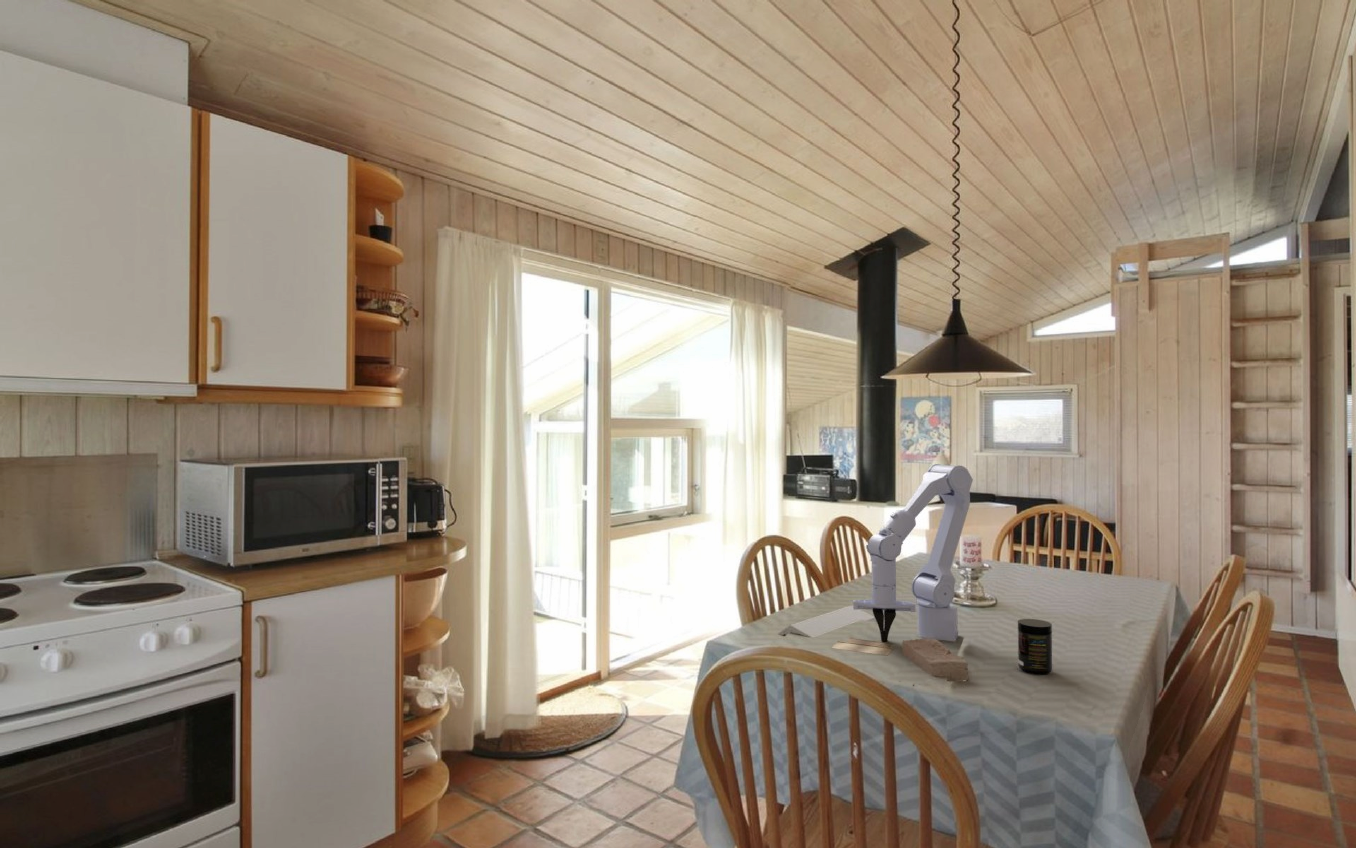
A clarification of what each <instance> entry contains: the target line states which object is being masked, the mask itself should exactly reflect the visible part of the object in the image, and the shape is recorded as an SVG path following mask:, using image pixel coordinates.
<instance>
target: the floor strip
mask: <svg viewBox="0 0 1356 848" xmlns="http://www.w3.org/2000/svg"><path fill="white" fill-rule="evenodd" d="M831 649H837V650H842V651H851V652H857V653H858V652H859V653H864V654H865V653H866V654H873V655H880V656H889V655H890V653H891V652H892V651H893V649H894V648H893V647H891V646H889V647H883V646H875V645H867V644H860V643H852V642H847V641H842V640H837V641H836V643H835V644H833V646H832V647H831Z"/></svg>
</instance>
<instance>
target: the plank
mask: <svg viewBox="0 0 1356 848" xmlns="http://www.w3.org/2000/svg"><path fill="white" fill-rule="evenodd" d="M846 642H852V643H860V644H867V645H875V646H883V647H891V645H892V643H891V642H887V641H875V640H869V639H861V638H852V637H850V638H849V639H848V640H847V641H846Z"/></svg>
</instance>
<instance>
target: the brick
mask: <svg viewBox="0 0 1356 848" xmlns="http://www.w3.org/2000/svg"><path fill="white" fill-rule="evenodd" d="M901 645H902V647H901V649H902V650H901V652H902V655H904V656H905V657H906V658H907V659H909V660H910V661H912V662H913V663H914V664H916V665H917V666H919V667H920V668H921V669H922V670H923V671H925V672H926V673H927V674H929V675H930V676H932V677H948V678H947V680H946V682H959V681H961V682H964V681H963V680H968V681H969V677H968V676H969V672H970V671H969V668H968V666H969V663H968V661H966V660H965V659H964V658H962V657H961V656H959V655H958V654H956V653H954V652H952V651H950V649H949V648H948V647H946V646H945V645H944V644H943V643H942V642H940V640H936V639H926V638H920V639H919V638H918V639H910V640H902V643H901Z"/></svg>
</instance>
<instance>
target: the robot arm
mask: <svg viewBox="0 0 1356 848" xmlns="http://www.w3.org/2000/svg"><path fill="white" fill-rule="evenodd" d="M973 481H974V479H973V477H972V475H971V474H970V472H969V470H968V469H967V467H965V466H963V465H948V464H940V463H935V464H932V465H931V466H929V468H928V469H927V471H926V472H925V473H924V474H923V475H922V481H921V483H920V484H919V486H918V488H917V489H916V490H915V492H914V493H913V495H912V496H911V497H910V499H909V501H908V502H907V504H906V505H905V506H904V508H903V509H901V510H900V509H899V510H896V511H895V512H892V513H891V514H890V518H889V520H888V521H887V522H886V523H885V525H884V526H883V527H881V528H880V530H879V531H878V533H876V534H873V535H872V536H871V537H870V538H869V540H868V542H867V544H866V546H865V549H866V551H867V553H868V554H869V556H870V562H871V599H853V601H852V606H853V609H854V610H858V609H860V610H869V611H871V610H872V614H873V617H875V619H876V621H877V622H876V623H877V626H878V628H879V633H880V640H881V641H880V642H888V640H889V633H890V631H891V630H890V629H891V627H892V625H893V622H894V621H895V618H896V616H897V612H910V613H916V609H917V636H919V637H920V638H921V639H936V640H938V641H947V642H956V641H957V638H958V637H959V629H958V628H959V627H958V623H959V622H958V620H959V619H958V607H956V606H951V604H952V602H953V601H954V599H955V595H956V593H955V585H956V581H957V580H956V577H955V576H954V575H953V573H952V571H951V569H952V566H953V562H954V558H955V555H956V552H957V548H958V545H959V541H960V538H961V535H962V531H963V528H964V525H965V522H966V518H967V515H968V513H969V508H970V504H971V495H970V493H971V487H972V485H973ZM936 496H940V497H941V499H942V500H943V502H944V509H943V511H942V514H941V519H940V520H939V524H938V528H937V532H936V534H935V538H934V541H933V544H932V548H931V550H930V554H929V557H928V562H927V563H925V564H924V565H923V566H921V567H919V570H918V573H917V574H916V575H915V577H914V578H913V579H912V581H911V585H910V590H911V593H912V595H913V596H914V597H915V599H916V601H915V602H916V603H917V608H916V603H915V602H914V601H913V602H912V601H911V602H909V601H903V600H902V601H901V600H897V564H896V563H897V558H898V557H899V556H900V555H901V552H902V547H903V544H904V541H905V540H906V539H907V537H908V536H909V534H911V532H912V531H913V530H914V529H915V527H916V525H917V523H916V522H917V521H916V519H917V517H918V516H919V514H921V512H922V511H923V510H924V509H925V508H926V507H927V506H928V505H929V503H930V502H931V501H932V500H933V499H934V498H935V497H936Z"/></svg>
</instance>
